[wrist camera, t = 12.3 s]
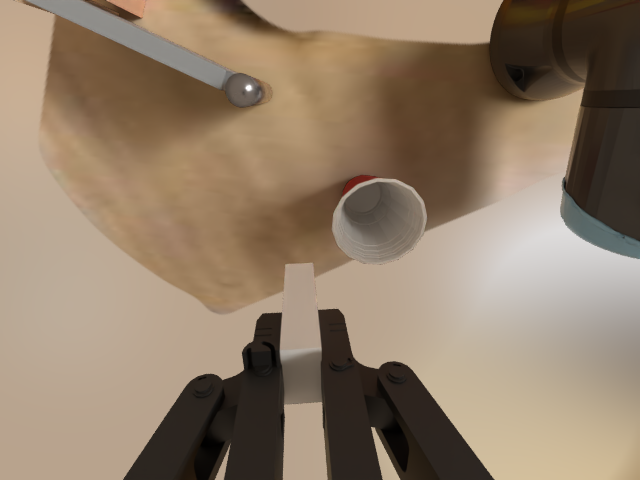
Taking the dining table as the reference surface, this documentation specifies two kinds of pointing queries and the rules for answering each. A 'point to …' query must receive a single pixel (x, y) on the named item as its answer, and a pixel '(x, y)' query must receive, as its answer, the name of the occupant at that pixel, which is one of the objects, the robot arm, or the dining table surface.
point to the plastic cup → (378, 219)
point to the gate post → (247, 90)
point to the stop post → (130, 6)
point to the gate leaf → (136, 38)
